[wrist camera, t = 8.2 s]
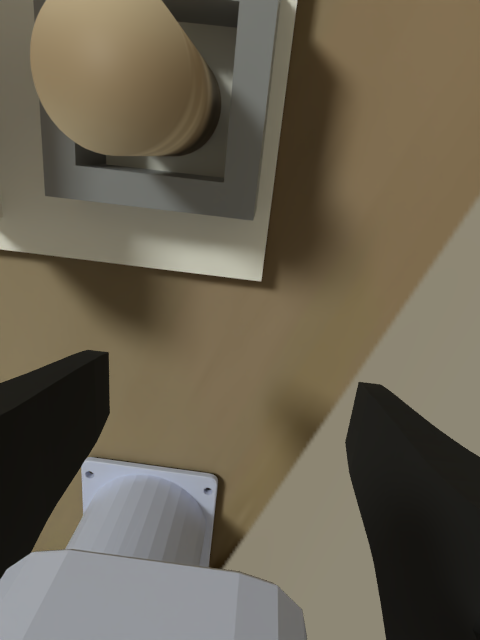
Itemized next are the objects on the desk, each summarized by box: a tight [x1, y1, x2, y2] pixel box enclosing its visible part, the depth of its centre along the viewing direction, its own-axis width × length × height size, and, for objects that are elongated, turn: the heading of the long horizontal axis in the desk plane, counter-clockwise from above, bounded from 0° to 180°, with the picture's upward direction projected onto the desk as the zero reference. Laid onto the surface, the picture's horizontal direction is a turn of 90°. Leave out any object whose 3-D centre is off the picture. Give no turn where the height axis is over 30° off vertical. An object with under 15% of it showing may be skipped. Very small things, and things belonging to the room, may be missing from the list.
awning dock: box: [0, 0, 297, 281], centre depth 14 cm, size 14×14×8 cm
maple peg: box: [30, 0, 221, 156], centre depth 14 cm, size 4×4×7 cm
